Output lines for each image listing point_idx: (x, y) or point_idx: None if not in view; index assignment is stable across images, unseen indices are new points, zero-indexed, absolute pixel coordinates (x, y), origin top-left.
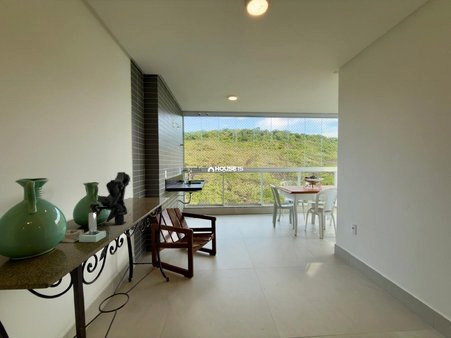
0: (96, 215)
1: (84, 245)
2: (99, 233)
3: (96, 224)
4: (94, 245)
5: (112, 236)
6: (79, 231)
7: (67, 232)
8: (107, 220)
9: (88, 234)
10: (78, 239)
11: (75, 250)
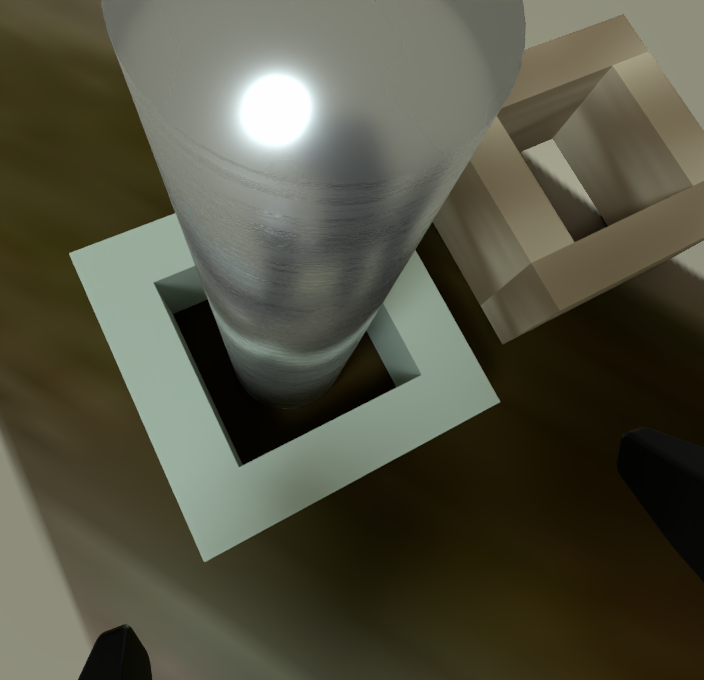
0: (217, 229)
1: (150, 156)
2: (162, 384)
3: (224, 325)
4: (8, 209)
5: (108, 619)
6: (513, 217)
7: (650, 140)
8: (88, 665)
9: (381, 316)
10: (444, 239)
11: (86, 20)
